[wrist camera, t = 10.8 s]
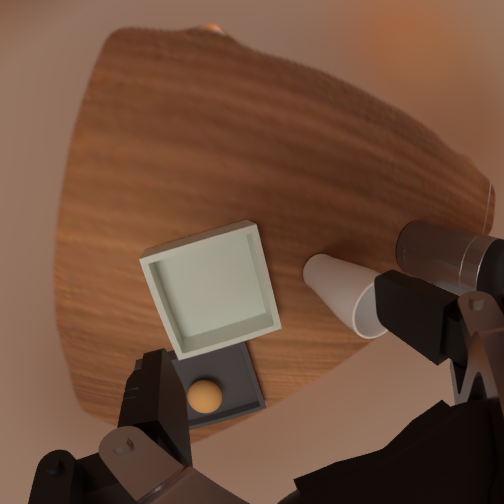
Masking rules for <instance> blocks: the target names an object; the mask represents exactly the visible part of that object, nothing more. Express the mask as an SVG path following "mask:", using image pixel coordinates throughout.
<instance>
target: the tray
mask: <svg viewBox="0 0 504 504" xmlns="http://www.w3.org/2000/svg"><path fill="white" fill-rule="evenodd" d="M167 353H168V355H169V357H170V359H171V361H172V363H173V366H174V368H175V370H176V372H177V374H178V376H179V378H180V380H181V382H182V384H183V387H184V390H185V394H186V399H187V413H188V425H189V430H190V429H195V428H199V427H203V426H207V425H211V424H215V423H218V422H222V421H226V420H229V419H233V418H236V417H239V416H243V415H246V414H249V413H252V412H255V411H258V410H261V409H264V408H266V405H265V402H264V399H263V396H262V393H261V390H260V387H259V384H258V381H257V378H256V375H255V372H254V369H253V366H252V362H251V359H250V356H249V353H248V350H247V347H246V344H245V341H243V342H240V343H236V344H233V345H230V346H227V347H224V348H220V349H217V350H214V351H210V352H207V353H204V354H200V355H197V356H193V357H189V358H186V359H182V360H179V359H178V357H177V355H176V353H175V350H174V351H170V352H167ZM141 365H142V359H139V360H136V364H135V369H134V370H137V369H141ZM201 380H207V381H211V382H213V383H215V384H216V385H217V386H218V387H219V388H220V390H221V393H222V402H221V405H220V406H219V408H218V409H217V410H215V411H213V412H211V413H200V412H198V411H196V410H194V409H193V408H192V407H191V406H190V404H189V402H188V398H187V395H188V390H189V388H190V387H191V386H192V385H193V384H194V383H196V382H198V381H201Z"/></svg>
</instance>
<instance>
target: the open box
mask: <svg viewBox="0 0 504 504" xmlns="http://www.w3.org/2000/svg"><path fill="white" fill-rule="evenodd" d="M139 260H140V263H141V266H142V269H143V272H144V275H145V278H146V280H147V283H148V286H149V289H150V291H151V294H152V297H153V299H154V302H155V304H156V307H157V310H158V312H159V315H160V317H161V320H162V322H163V325H164V327H165V329H166V332H167V334H168V337H169V339H170V341H171V344H172V346H173V348H174V350H175V353H176V355H177V357H178V359H179V360H182V359H186V358H189V357H193V356H197V355H200V354H204V353H207V352H210V351H214V350H217V349H220V348H224V347H227V346H230V345H233V344H236V343H240V342H243V341H246V340H249V339H252V338H255V337H258V336H261V335H264V334H267V333H270V332H273V331H275V330H278V329H281V323H280V319H279V315H278V311H277V307H276V302H275V298H274V294H273V290H272V286H271V282H270V278H269V273H268V269H267V265H266V261H265V257H264V253H263V249H262V245H261V241H260V237H259V233H258V228H257V224H255V223H253V222H251V221H249V220H244V221H241V222H237V223H234V224H230V225H227V226H223V227H220V228H216V229H213V230H209V231H206V232H203V233H199V234H196V235H192V236H189V237H186V238H182V239H179V240H176V241H173V242H169V243H166V244H163V245H160V246H156V247H153V248H150V249H147V250H145V251H144V252H143V254H142V255H141V257H140V259H139Z"/></svg>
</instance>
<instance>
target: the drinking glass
mask: <svg viewBox="0 0 504 504" xmlns="http://www.w3.org/2000/svg"><path fill="white" fill-rule="evenodd" d="M380 274H381V273H379V272H377V271H375V270H372V269H370V268H367V267H364V266H361V265H357V264H354V263H350V262H347V261H344V260H340V259H337V258H334V257H332V256H329V255H327V254H317V255H314V256H313V257H311V258H310V259H309V260H308V261H307V262H306V264H305V266H304V269H303V279H304V282H305V283H306V285H307V286H308V287H309V288H310V289H312V290H313V291H314V292H315V293H316V295H317V296H318V297H319V298H320V299H321V300H322V301H323V302H324V303H325V304H326V306H327V307H328V308H329V309H330V310H331V311H332V312H333V313H334V315H335V316H336V317H337V318H338V319H339V320H340V321H341V322H342V323H344V324H345V325H346V326H347V327H348V328H350V329H351V330H352V331H354V332H355V333H356V334H358V335H359V336H361V337H363V338H367V339H372V338H376V337H379V336H381V335H383V334H384V333H386V332H387V331H388V330H387V329H386V328H385V327H383V326H382V325H381V323H380V322H379V320H378V318H377V314H376V301H375V288H374V279H375V277H376V276H378V275H380Z"/></svg>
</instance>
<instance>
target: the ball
mask: <svg viewBox="0 0 504 504" xmlns="http://www.w3.org/2000/svg"><path fill="white" fill-rule="evenodd" d="M187 398H188V402H189V404H190V406H191V407H192V408H193V409H194V410H196V411H198V412H200V413H211V412H213V411H215V410H217V409H218V408H219V406H220V405H221V402H222V393H221V390H220V388H219V387H218V386H217V385H216V384H215V383H213V382H211V381H207V380H201V381H198V382H196V383H194V384H193V385H192V386H191V387H190V388H189V390H188V395H187Z"/></svg>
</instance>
